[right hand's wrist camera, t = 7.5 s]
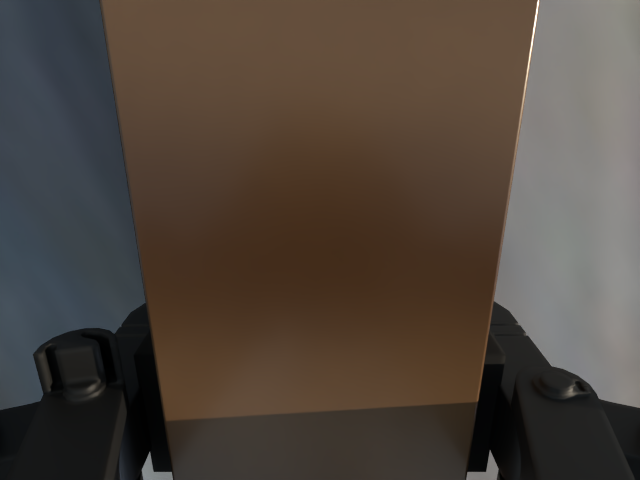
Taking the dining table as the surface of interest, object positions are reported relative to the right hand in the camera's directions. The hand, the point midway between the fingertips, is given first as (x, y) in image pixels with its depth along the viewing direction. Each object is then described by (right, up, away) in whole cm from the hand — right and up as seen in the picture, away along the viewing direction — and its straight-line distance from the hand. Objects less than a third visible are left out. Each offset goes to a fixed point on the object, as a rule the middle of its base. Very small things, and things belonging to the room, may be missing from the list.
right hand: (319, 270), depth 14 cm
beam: (0, +27, -10) cm, 28 cm away
